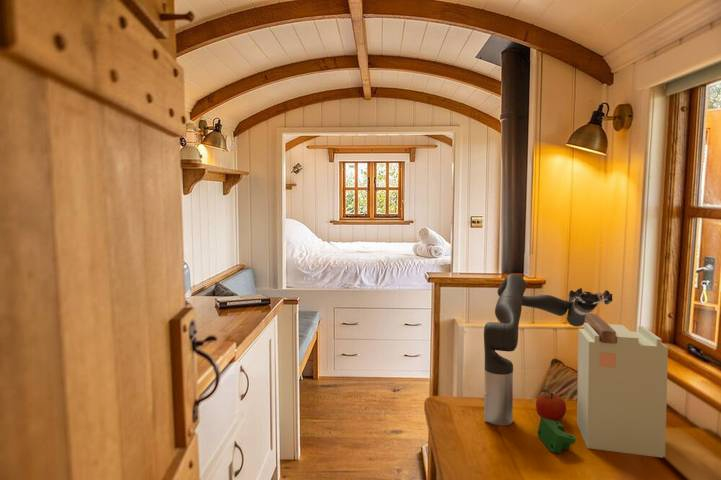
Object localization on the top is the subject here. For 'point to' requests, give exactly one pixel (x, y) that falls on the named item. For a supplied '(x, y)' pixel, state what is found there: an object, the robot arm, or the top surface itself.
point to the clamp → (554, 435)
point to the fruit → (550, 406)
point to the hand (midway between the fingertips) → (594, 291)
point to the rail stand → (622, 391)
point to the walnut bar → (601, 328)
